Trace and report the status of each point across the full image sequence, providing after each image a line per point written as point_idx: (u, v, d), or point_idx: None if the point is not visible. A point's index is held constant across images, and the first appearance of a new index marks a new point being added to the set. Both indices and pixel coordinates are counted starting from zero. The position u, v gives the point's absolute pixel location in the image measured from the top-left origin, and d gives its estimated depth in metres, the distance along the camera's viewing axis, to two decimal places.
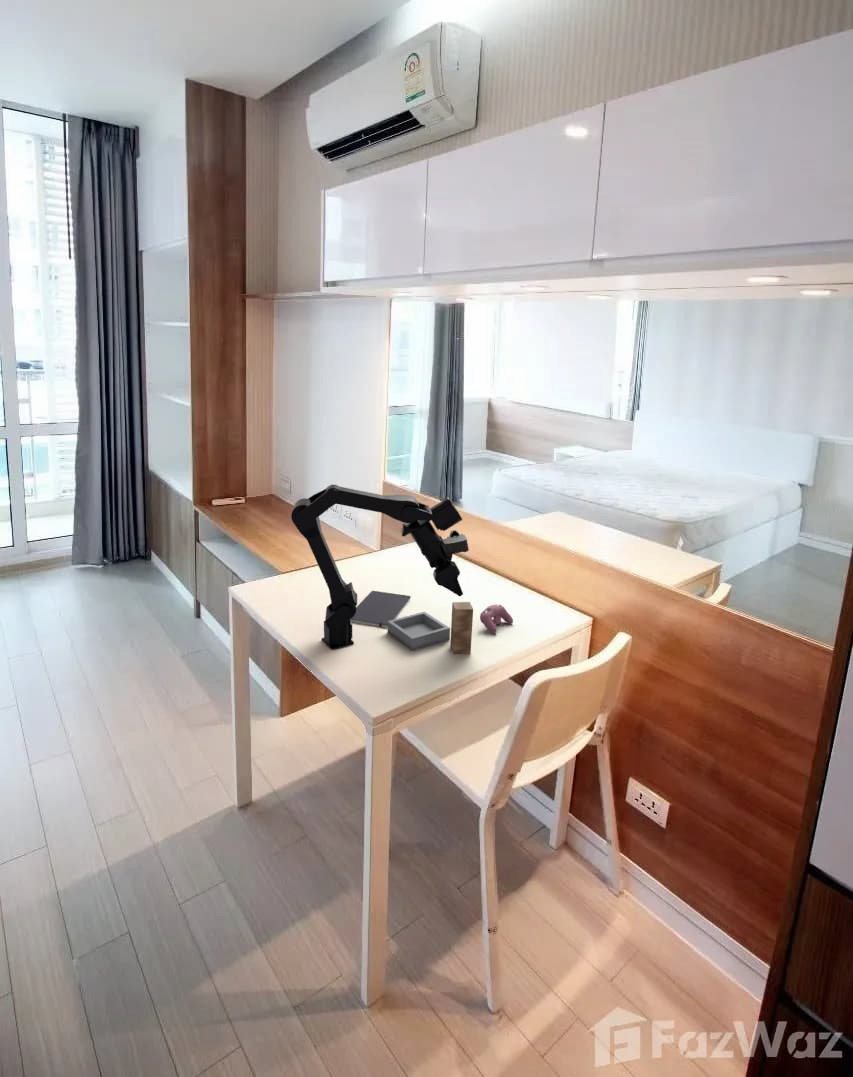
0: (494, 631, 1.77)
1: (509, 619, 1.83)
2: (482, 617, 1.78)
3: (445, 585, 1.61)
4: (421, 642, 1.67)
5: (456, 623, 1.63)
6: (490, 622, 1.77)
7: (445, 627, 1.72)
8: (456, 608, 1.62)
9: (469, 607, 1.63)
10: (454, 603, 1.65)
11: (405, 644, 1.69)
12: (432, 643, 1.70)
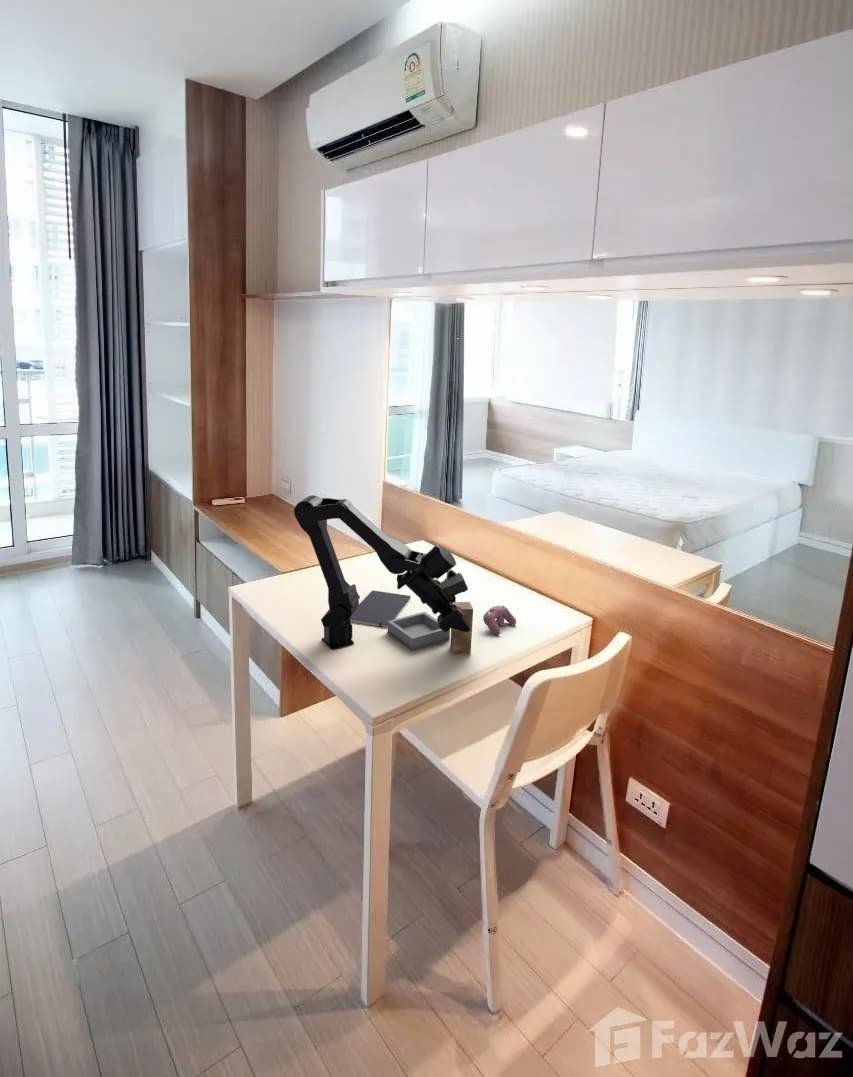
0: (497, 632, 1.76)
1: (512, 620, 1.82)
2: (485, 618, 1.78)
3: None
4: (421, 642, 1.67)
5: None
6: (493, 623, 1.76)
7: None
8: None
9: (469, 607, 1.63)
10: (455, 602, 1.65)
11: (405, 644, 1.69)
12: (432, 643, 1.70)
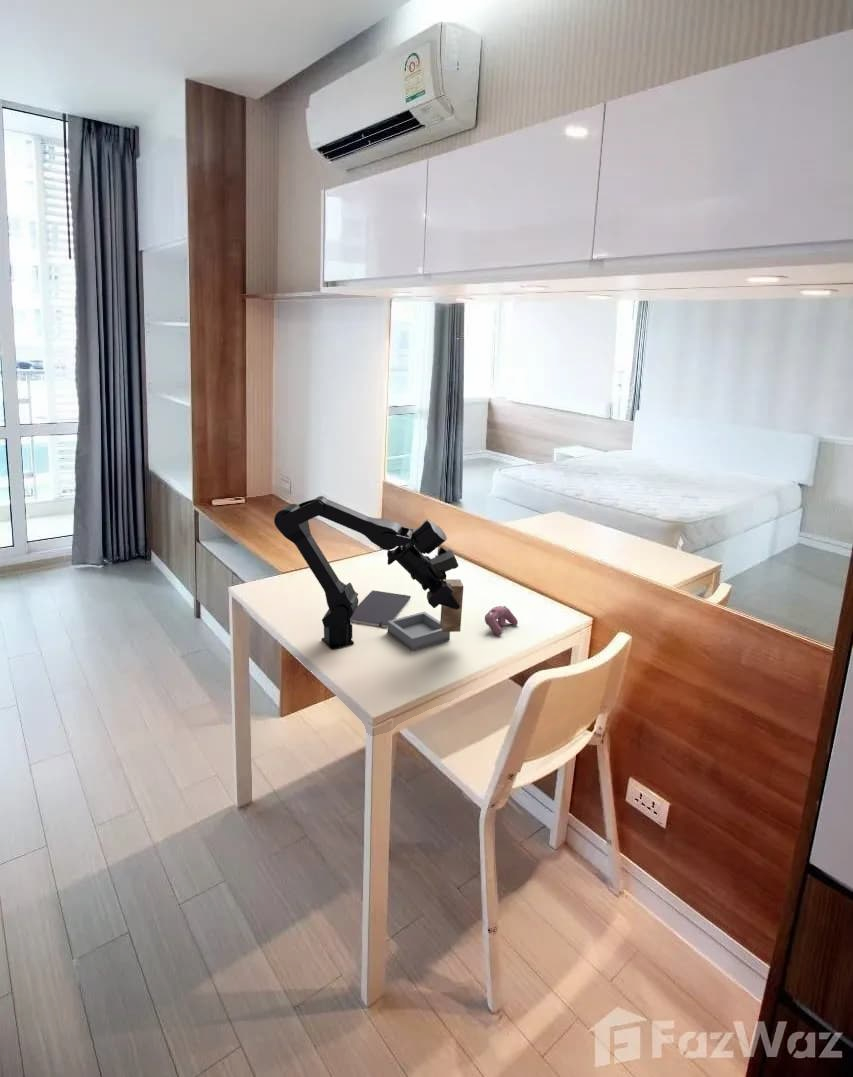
0: (499, 633, 1.76)
1: (514, 620, 1.82)
2: (487, 619, 1.77)
3: None
4: (421, 642, 1.67)
5: None
6: (495, 624, 1.76)
7: None
8: None
9: (460, 584, 1.62)
10: (445, 580, 1.65)
11: (405, 644, 1.69)
12: (432, 643, 1.70)
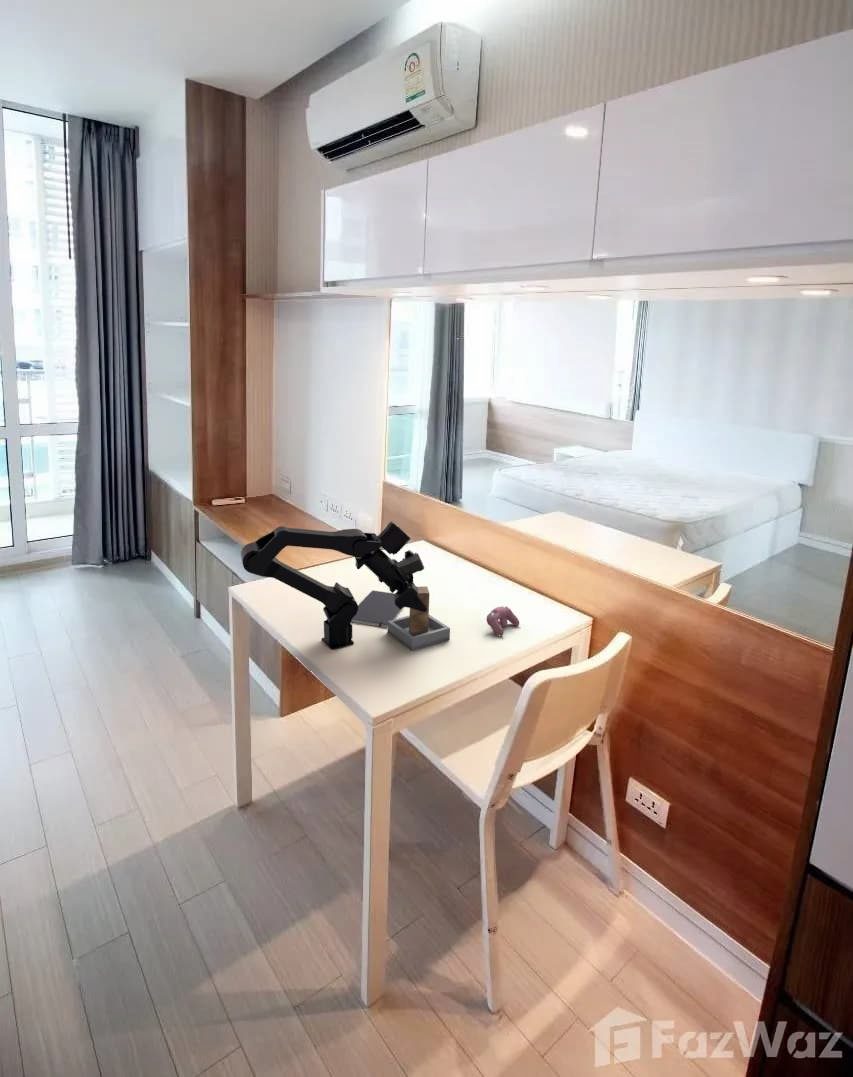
0: (501, 633, 1.75)
1: (515, 621, 1.82)
2: (489, 619, 1.77)
3: (407, 605, 1.65)
4: (421, 642, 1.67)
5: None
6: (497, 624, 1.76)
7: (445, 627, 1.72)
8: None
9: (426, 591, 1.69)
10: None
11: (405, 644, 1.69)
12: (432, 643, 1.70)
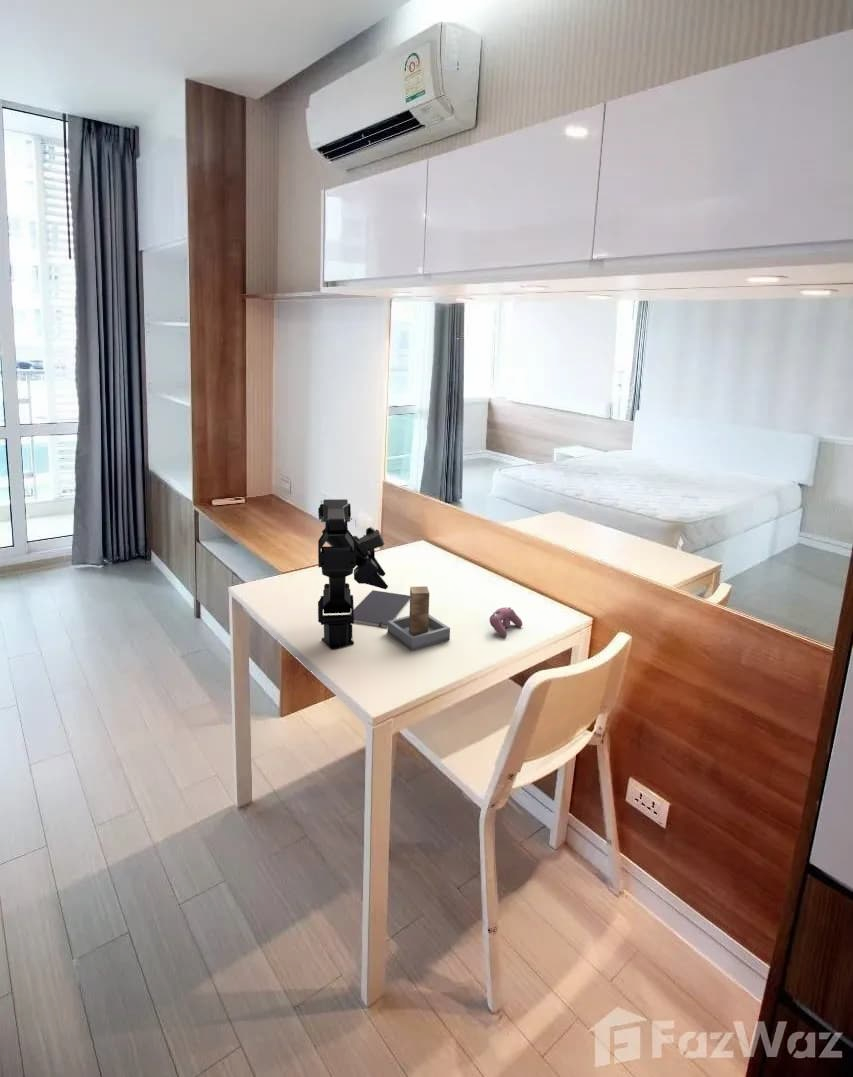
0: (504, 634, 1.75)
1: (518, 622, 1.81)
2: (492, 620, 1.77)
3: (367, 582, 1.67)
4: (421, 642, 1.67)
5: (413, 606, 1.69)
6: (500, 625, 1.75)
7: (445, 627, 1.72)
8: (413, 592, 1.68)
9: (426, 591, 1.69)
10: (412, 587, 1.72)
11: (405, 644, 1.69)
12: (432, 643, 1.70)
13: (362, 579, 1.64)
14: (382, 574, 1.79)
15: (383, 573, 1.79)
